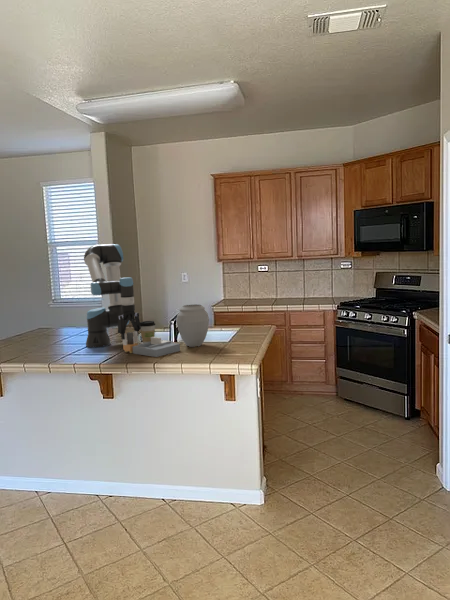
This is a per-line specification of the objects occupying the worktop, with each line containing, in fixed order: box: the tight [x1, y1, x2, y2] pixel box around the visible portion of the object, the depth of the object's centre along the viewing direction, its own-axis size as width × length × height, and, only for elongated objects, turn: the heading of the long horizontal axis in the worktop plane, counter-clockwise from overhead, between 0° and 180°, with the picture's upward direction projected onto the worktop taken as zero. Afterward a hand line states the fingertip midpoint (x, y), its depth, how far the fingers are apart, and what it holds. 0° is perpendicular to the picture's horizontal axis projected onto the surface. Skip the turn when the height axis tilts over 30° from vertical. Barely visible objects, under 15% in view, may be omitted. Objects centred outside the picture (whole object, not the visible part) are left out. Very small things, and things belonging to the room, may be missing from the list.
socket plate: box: [132, 340, 181, 358], centre depth 264 cm, size 20×18×5 cm
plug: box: [122, 331, 139, 354], centre depth 267 cm, size 6×6×11 cm
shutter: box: [151, 336, 169, 344], centre depth 269 cm, size 8×8×4 cm
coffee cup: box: [139, 320, 156, 343], centre depth 281 cm, size 10×10×15 cm
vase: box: [176, 303, 210, 348], centre depth 275 cm, size 20×20×24 cm
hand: (130, 343), depth 267 cm, fingers open, 8 cm apart
